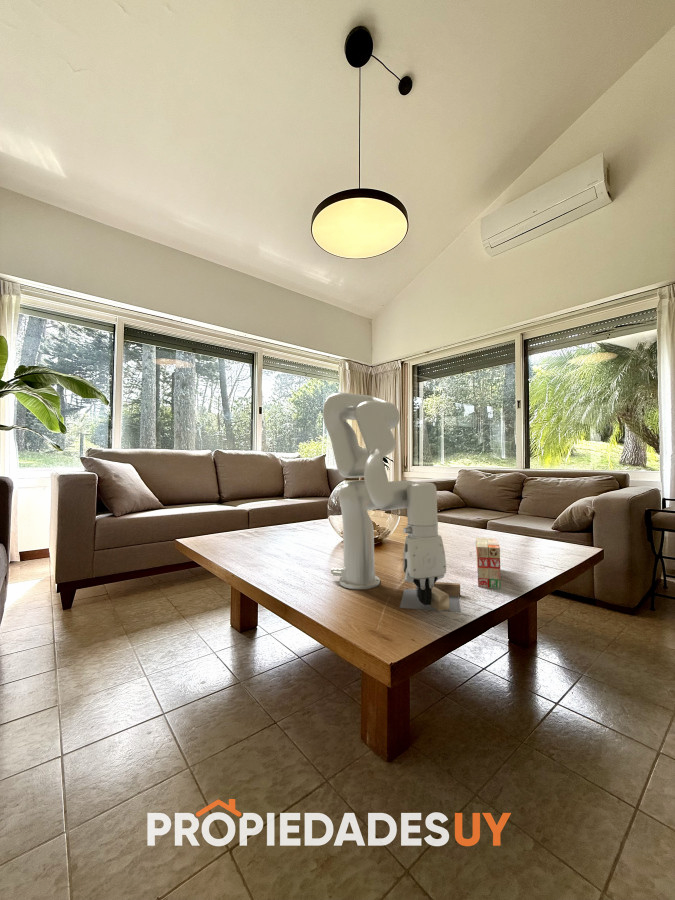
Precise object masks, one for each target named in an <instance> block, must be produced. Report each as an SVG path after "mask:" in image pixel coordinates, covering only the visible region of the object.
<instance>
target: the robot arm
mask: <svg viewBox="0 0 675 900" xmlns="http://www.w3.org/2000/svg"><path fill="white" fill-rule="evenodd" d="M400 416H401V415H400V411H399V409H398V407H397V406H396V405H395V404H394V403H393V402H390V401H387V400H383V399H381V398H378V397H375V396H372V395H370V394H369V395H367V394H359V393H351V392H334V393H332V394H330V395H329V396H327V398H326V399H325V401H324V403H323V408H322V418H323V423H324V426H325V429H326V431H327V433H328V436H329V438H330V443H331V447H332V451H333V457H334V460H335V464H336V468H337V471H338V472H337V473H338V474H339V475H340V476H341V477H342V478H345V479H346V478H347V479H348V478H349V479H353V478H355V479H357V478H359V479H360V478H363V479H362V480H352V481H349V482H346V483H344V484H343V485H341V488H340V489H339V492H338V502H339V505H340V511H341V512H340V513H341V520H342V541H343V543H342V544H343V547H342V548H343V567H340V568H338V567H331V568H330V569H331V570H330V574H331V575H333V576H334V577H340V578H339V579H338V582H339V583H338V584H339V585H340V586H341V587H343V588H346V589H350V590H368V589H372V588H376V587H378V586H379V585H380V584H381V580H380V579H381V578H380V577H379V576H377V575H376V570H375V538H374V537H375V536H374V534H375V533H374V532H375V531H374V524H373V521H372V519H371V517H370V515H369V513H368V511H372V510H381V511H393V510H401V509H407V510H406V512H407V513H406V515H407V516H406V517H407V525H406V527H403V534H407V536H405V541H404V545H403V558H402V560H403V562H402V563H403V564H402V565H403V572H404V573H403V574H404V578H403V579H404V581H405V582H406V583H409V584H410V583H411V584H414V585H415V587H416V586H417V587H418V599H419V601H420V602H421V603H422V604H424V605H425V606H426V605H431V600H432V588H433V587H434V584H435V582H438V581H439V580H441V579H443V578H444V577H445V575H446V573H447V560H446V553H445V547H444V542H443V539H442V536H441V535H439V527H438V526H439V525H438V523H439V521H438V519H439V518H438V498H437V497H438V492H437V491H438V490H437V486H436V484H434V483H433V482H429V481H428V482H423V481H418V482H416V481H412V480H393V481H389V478H388V474H387V469H386V467H385V463H384V460H383V459H384V458H385V457H386V456H388V455H390V454H392V452H394V451H395V449H396V447H397V441H396V440H395V437H394V434H393V432H392V430H393V429H395V428H396V427H397V426H398V425H399V423H400V420H401V417H400ZM347 420H350V421H352V420H353V421H356V423H357V426H358V428H359V431H360V434H361V436H362V441H363V442H364V444H365V447H364V448H362V447H361V446H360V444H359V441H358V436H357V434H356V432H355V430H354V428H353V427H352V426H351V425H350V424H349V422H347Z"/></svg>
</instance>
